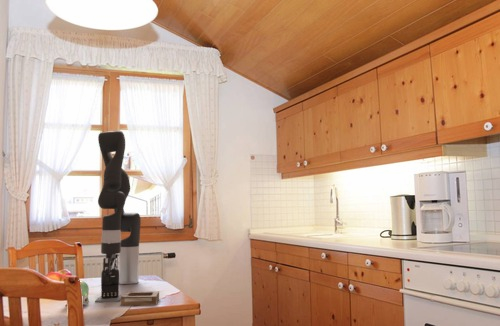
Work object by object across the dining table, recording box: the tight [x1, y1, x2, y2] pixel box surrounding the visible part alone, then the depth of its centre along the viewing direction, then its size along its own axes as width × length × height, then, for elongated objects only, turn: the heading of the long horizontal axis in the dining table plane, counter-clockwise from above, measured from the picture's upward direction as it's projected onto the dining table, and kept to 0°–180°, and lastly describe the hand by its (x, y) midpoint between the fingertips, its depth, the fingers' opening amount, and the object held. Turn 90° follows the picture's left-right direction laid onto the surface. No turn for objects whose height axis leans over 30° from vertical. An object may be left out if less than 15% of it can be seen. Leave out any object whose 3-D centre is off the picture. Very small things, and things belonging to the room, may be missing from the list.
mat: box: [94, 294, 123, 303], centre depth 181 cm, size 9×9×1 cm
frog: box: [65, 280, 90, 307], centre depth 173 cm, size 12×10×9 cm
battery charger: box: [100, 268, 120, 298], centre depth 181 cm, size 7×4×11 cm, turn 106°
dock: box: [120, 290, 160, 306], centre depth 176 cm, size 10×13×3 cm
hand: (110, 282), depth 181 cm, fingers open, 8 cm apart
